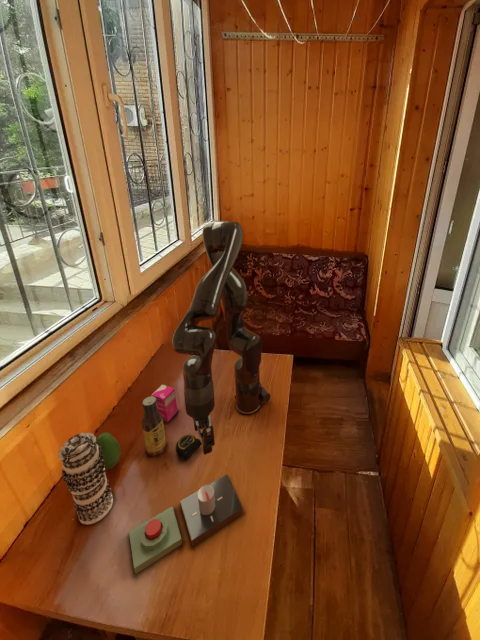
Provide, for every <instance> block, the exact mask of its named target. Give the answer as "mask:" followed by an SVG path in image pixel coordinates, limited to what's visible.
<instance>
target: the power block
mask: <svg viewBox="0 0 480 640" xmlns="http://www.w3.org/2000/svg"><path fill="white" fill-rule="evenodd" d="M153 519H158V520H160V522H161V527H162V530H161V533H160V534H159V536H158V537H157V538H155V539H153V540H150V539H148V538H147V536H146V531H145V529H146V526H147V524H148V523H149V522H150V521H151V520H153ZM128 536H129V542H130V550H131V557H132V564H133V571H134V574H135V575H137V574H139V572H141V571H143V570H144V569H146V568H147V567H149V566H150V565H152V564H153V563H155V562H157V561H158V560H160V559H162V558H163V557H165V556H166V555H168V554H169V553H170V552H173V551H174V550H175V549H177V548H179V547H180V546H182V545H183V540H182V536H181V532H180V528H179V524H178V520H177V516H176V513H175V509H174V506H173V505H172V506H170V507H168V508H167V509H165V510H163V511H161V512H160V513H157V514H156V515H154V516H152V517H150V518H149V519H147V520H146V521H144V522H142V523H140V524H138V525H136V526H135V527H133V528H131V529H130V530H128Z"/></svg>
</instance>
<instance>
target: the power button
mask: <svg viewBox="0 0 480 640" xmlns="http://www.w3.org/2000/svg"><path fill="white" fill-rule="evenodd" d="M161 530H162V527H161V522H160V520H158V519H153V520H151V521H150V522H149V523H148V524H147V526H146V529H145V531H146V536H147V538H148V539H150V540H153V539H155V538H157V537H158V536H159V534H160V533H161Z"/></svg>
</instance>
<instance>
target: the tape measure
mask: <svg viewBox="0 0 480 640" xmlns="http://www.w3.org/2000/svg"><path fill="white" fill-rule="evenodd" d="M201 446H203V444H202V440H200V438H197V437H195V435H192V434H185V435H183V436H181V437H180V438H179V439H178V440H177V442H176V444H175V451H176V455H177V456H178V457H179V458H181V459H182V460H183V461H187V460H189V459H190V458H191V456H192V455H194V453H195V452H196V451H197V450H199V448H200V447H201Z"/></svg>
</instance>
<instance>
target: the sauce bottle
mask: <svg viewBox="0 0 480 640" xmlns="http://www.w3.org/2000/svg"><path fill="white" fill-rule="evenodd" d="M156 403H157V401H156V398H155V397H154V396H152V395H151V396H147V397H145V398H144V399H143V400H142V403H141V404H142V407H143V415H142V418H141V426H142V427H141V428H142V433H143V434H142V435H143V440H144V441H143V442H144V447H145V450H146V454H148V455H149V456H150V457H156V456H158V455H159V454H161V453H162V452H164V450H165V449H166V445H167V444H166V443H167V440H166V433H165V425H164V421H163V417H162V416H161V414H160V413H159V411H158V410H157V405H156Z"/></svg>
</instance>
